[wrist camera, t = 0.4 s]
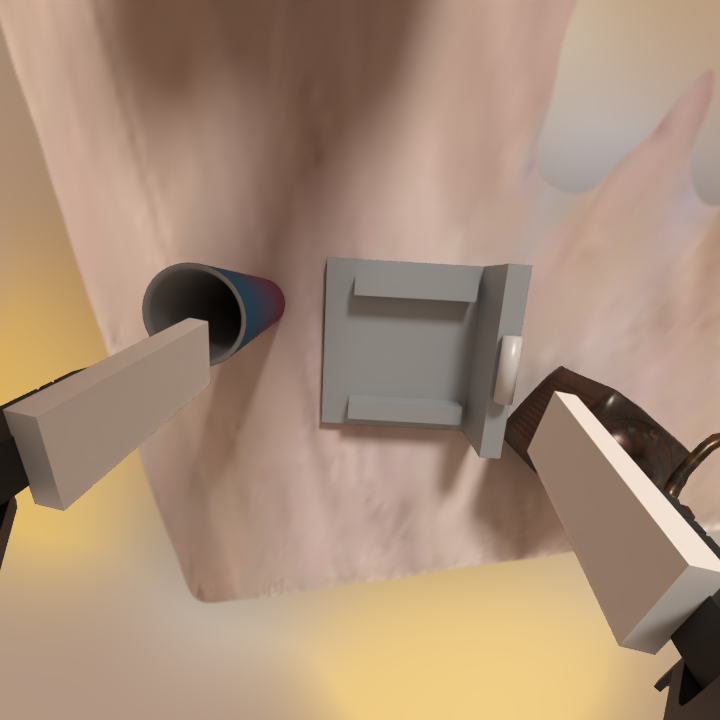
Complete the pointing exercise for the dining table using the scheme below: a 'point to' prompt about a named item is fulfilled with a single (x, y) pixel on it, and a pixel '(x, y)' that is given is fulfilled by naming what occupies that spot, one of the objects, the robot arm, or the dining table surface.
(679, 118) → the dining table surface
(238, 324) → the cup
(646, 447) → the manual coffee grinder
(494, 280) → the dock
